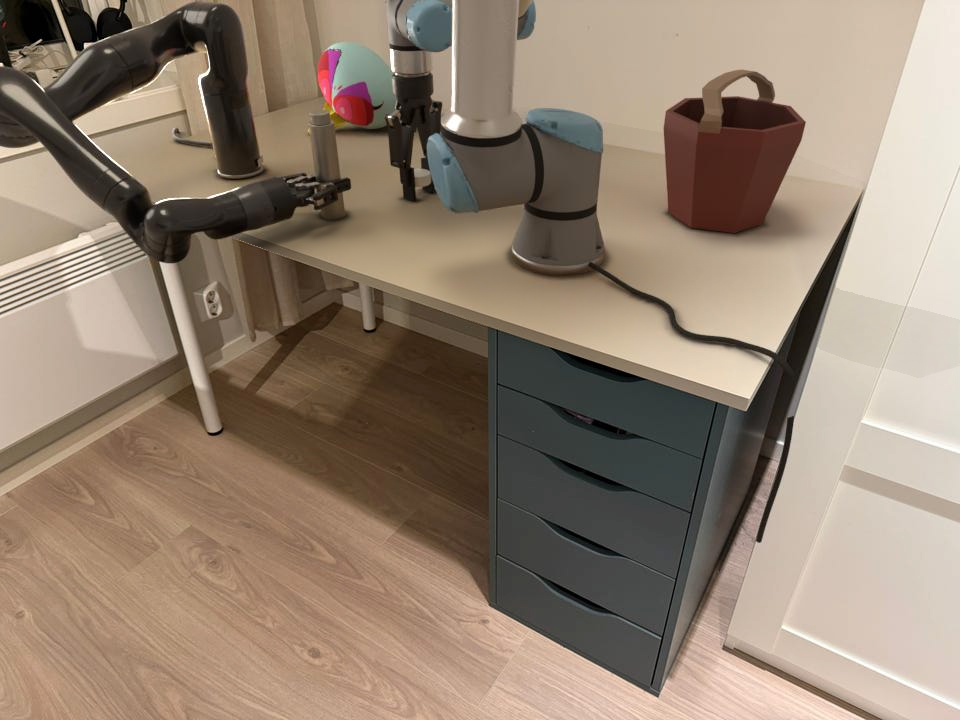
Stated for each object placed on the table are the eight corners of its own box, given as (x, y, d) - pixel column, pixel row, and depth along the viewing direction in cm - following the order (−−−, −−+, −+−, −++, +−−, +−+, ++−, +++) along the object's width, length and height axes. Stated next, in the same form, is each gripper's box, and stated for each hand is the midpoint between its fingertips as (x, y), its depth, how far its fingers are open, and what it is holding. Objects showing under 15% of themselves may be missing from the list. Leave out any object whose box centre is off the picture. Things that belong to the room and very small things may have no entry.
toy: (277, 110, 181) (275, 51, 163) (352, 72, 191) (358, 13, 173) (336, 175, 178) (341, 122, 160) (410, 134, 188) (421, 79, 170)
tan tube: (331, 209, 135) (318, 107, 125) (350, 213, 134) (337, 110, 123) (316, 217, 132) (301, 113, 122) (334, 221, 130) (321, 117, 120)
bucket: (710, 250, 119) (740, 96, 105) (622, 208, 134) (638, 69, 120) (804, 218, 129) (843, 75, 115) (713, 183, 145) (736, 53, 131)
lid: (423, 189, 137) (423, 178, 136) (400, 185, 139) (400, 175, 137) (435, 180, 141) (435, 170, 140) (413, 176, 142) (412, 167, 141)
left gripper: (243, 213, 127) (322, 189, 137) (285, 236, 119) (367, 209, 129) (234, 173, 123) (317, 151, 133) (278, 194, 115) (362, 168, 125)
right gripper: (429, 61, 136) (435, 178, 149) (361, 79, 124) (373, 204, 137) (459, 66, 132) (462, 186, 145) (392, 85, 120) (401, 213, 133)
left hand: (341, 179), depth 131 cm, fingers closed on tan tube, 4 cm apart
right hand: (419, 194), depth 141 cm, fingers closed on lid, 5 cm apart
